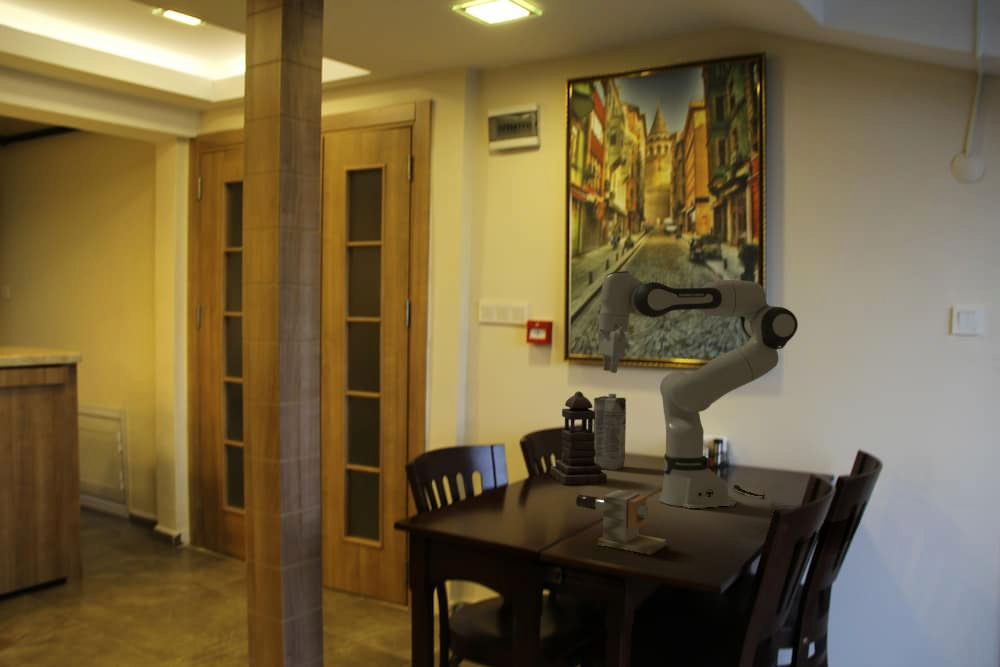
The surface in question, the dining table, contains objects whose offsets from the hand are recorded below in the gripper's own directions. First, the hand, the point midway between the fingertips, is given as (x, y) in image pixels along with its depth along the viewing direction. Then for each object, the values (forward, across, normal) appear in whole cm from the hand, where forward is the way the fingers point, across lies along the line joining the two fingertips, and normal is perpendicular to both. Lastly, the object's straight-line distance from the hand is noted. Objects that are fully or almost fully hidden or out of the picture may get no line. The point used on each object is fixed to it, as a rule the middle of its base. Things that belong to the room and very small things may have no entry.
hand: (609, 371), depth 243 cm
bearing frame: (+41, -41, 0) cm, 58 cm away
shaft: (+34, -38, +5) cm, 51 cm away
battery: (+38, +52, -14) cm, 66 cm away
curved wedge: (+36, +13, -51) cm, 64 cm away
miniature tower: (+39, +34, +1) cm, 52 cm away
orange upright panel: (+36, -42, -1) cm, 55 cm away
